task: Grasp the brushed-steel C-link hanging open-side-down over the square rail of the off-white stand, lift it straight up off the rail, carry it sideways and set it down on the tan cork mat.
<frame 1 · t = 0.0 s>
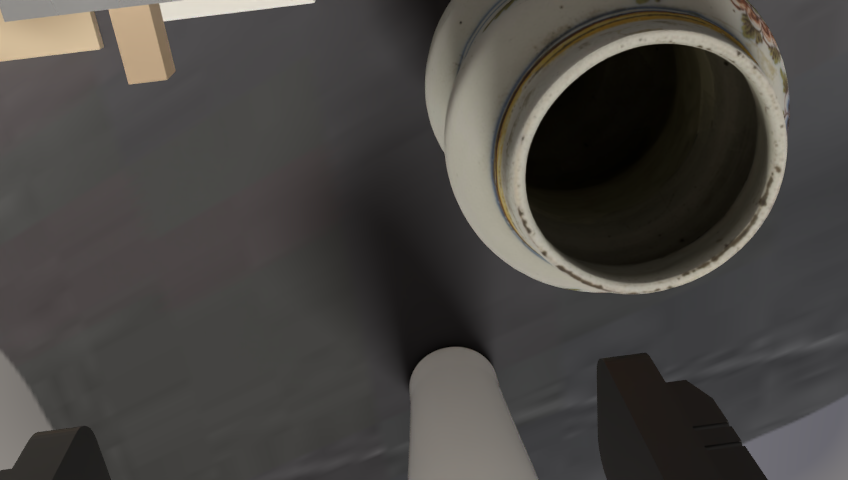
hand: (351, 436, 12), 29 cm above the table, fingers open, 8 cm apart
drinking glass: (451, 377, 48), on the table
apothecary jar: (534, 54, 40), on the table
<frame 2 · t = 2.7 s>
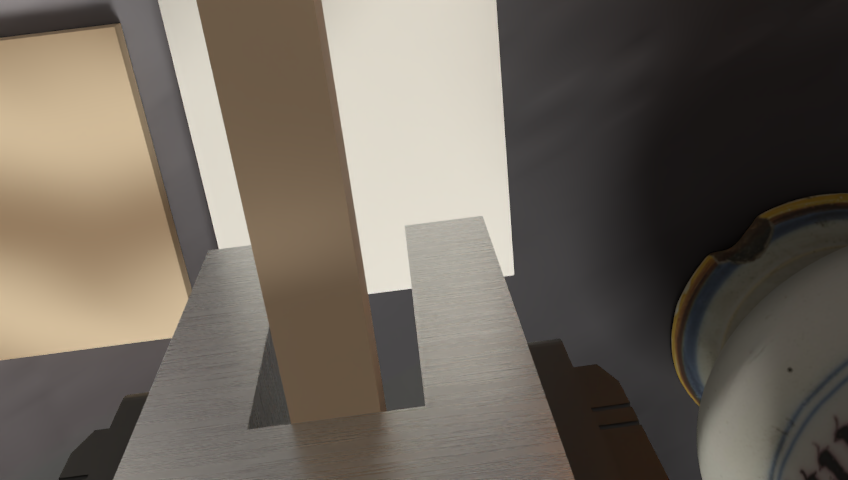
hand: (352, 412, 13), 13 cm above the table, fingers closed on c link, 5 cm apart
cork mat: (35, 203, 24), on the table
stand: (337, 32, 23), on the table
apothecary jar: (800, 316, 28), on the table
c link: (356, 297, 16), point 9 cm above the table, touching gripper, stand
when the fingers open (6 cm above the table, at t = 8.7 s): c link drops 1 cm, resting on cork mat.
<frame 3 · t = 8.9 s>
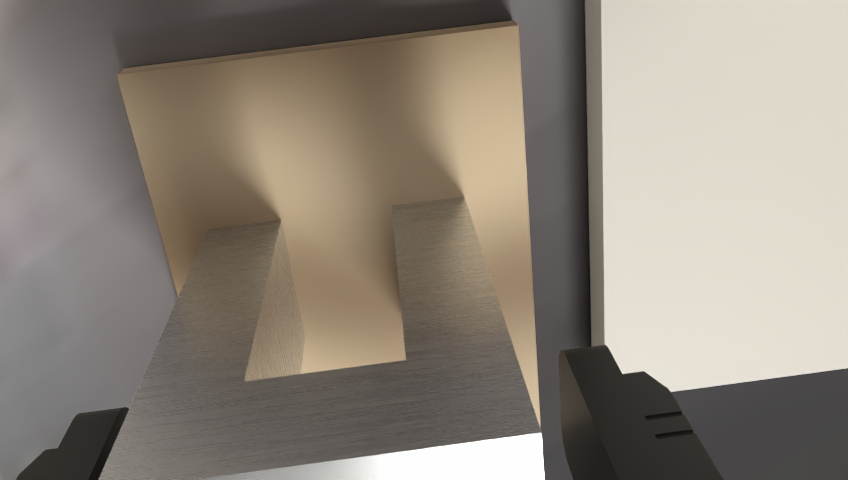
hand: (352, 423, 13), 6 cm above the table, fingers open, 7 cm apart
cork mat: (355, 260, 18), on the table
stand: (794, 33, 17), on the table
c link: (346, 273, 18), point 1 cm above the table, touching cork mat
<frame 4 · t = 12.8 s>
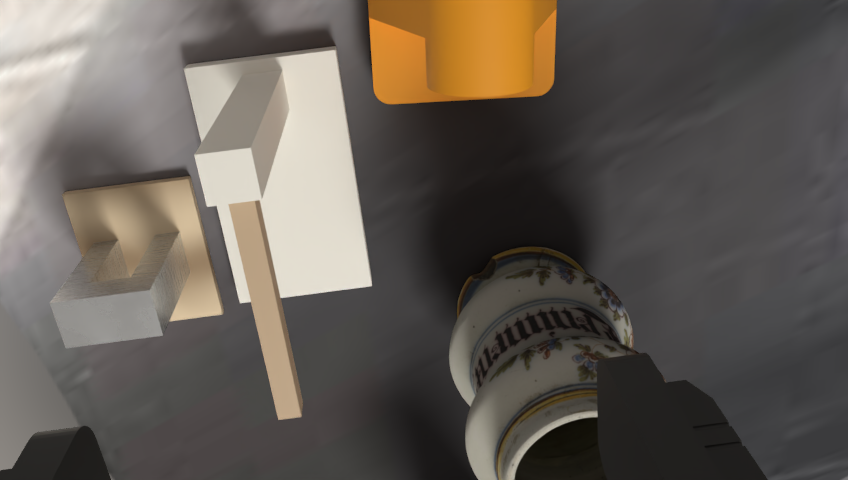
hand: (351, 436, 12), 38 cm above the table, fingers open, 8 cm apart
cork mat: (147, 253, 52), on the table
bracket: (458, 30, 48), on the table
stand: (286, 178, 51), on the table
apothecary jar: (523, 306, 56), on the table
c link: (142, 257, 52), point 1 cm above the table, touching cork mat
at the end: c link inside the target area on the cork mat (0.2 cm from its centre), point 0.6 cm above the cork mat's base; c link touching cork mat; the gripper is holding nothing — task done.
